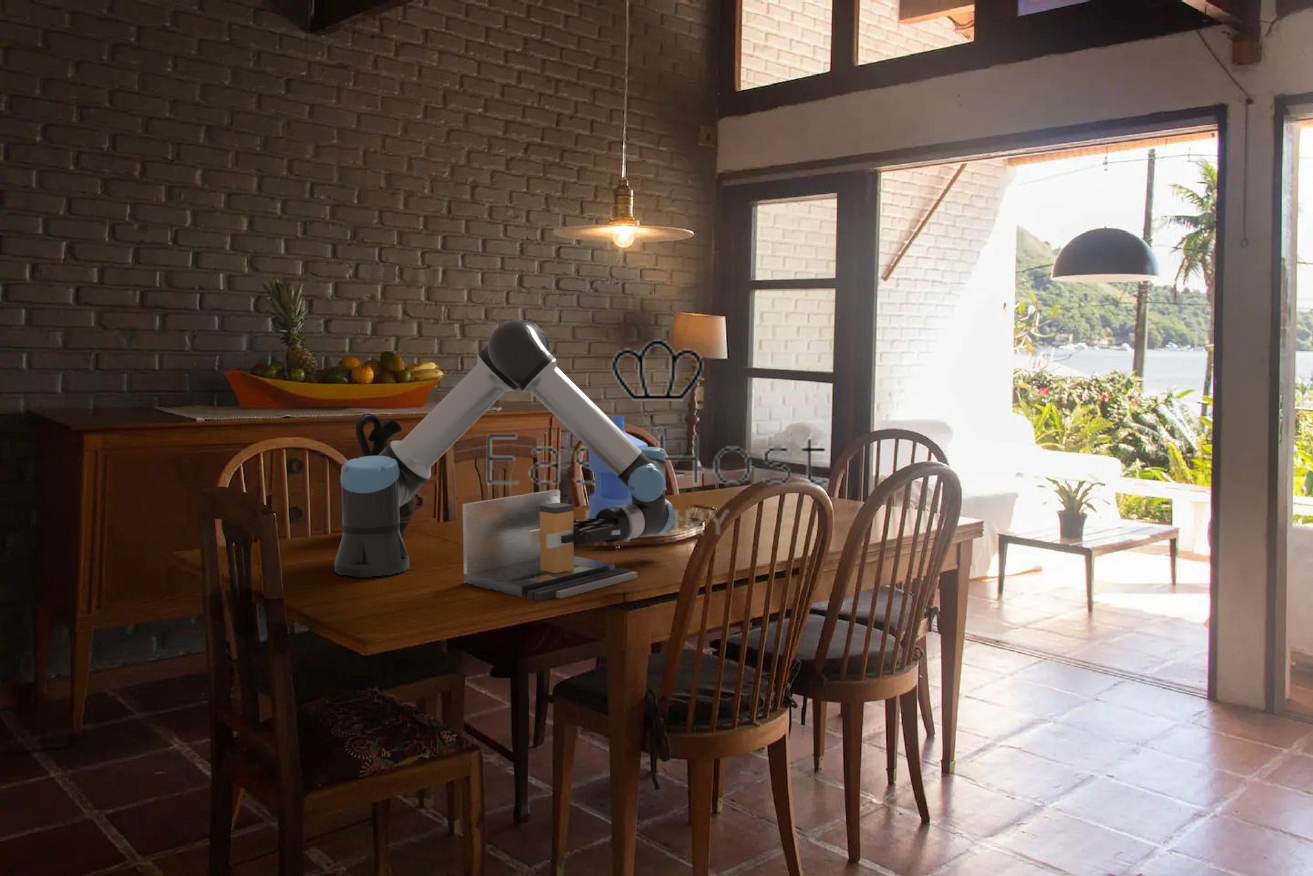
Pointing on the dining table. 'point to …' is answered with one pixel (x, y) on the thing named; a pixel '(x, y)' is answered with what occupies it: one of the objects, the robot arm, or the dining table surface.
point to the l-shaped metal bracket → (513, 545)
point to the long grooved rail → (582, 584)
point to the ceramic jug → (380, 438)
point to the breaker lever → (554, 521)
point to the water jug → (609, 479)
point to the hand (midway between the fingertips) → (538, 539)
